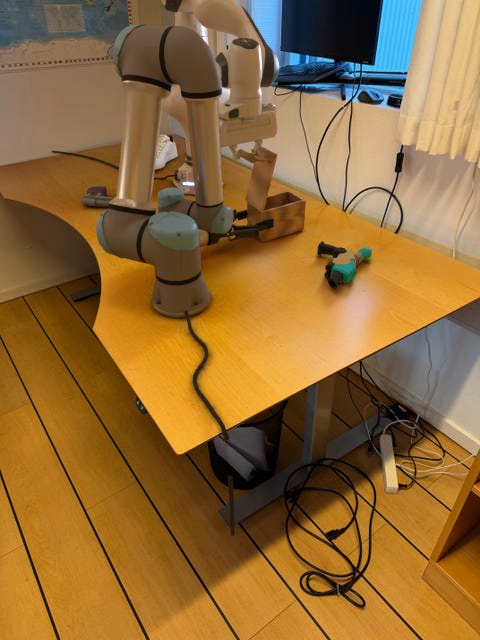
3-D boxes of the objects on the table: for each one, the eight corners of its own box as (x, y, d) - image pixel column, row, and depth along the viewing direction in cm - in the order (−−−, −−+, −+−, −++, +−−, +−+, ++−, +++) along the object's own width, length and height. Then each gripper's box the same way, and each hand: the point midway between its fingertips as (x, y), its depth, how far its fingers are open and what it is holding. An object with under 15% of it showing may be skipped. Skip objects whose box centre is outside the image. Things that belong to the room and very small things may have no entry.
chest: (287, 218, 166) (288, 190, 160) (304, 229, 159) (305, 200, 153) (247, 230, 160) (246, 201, 154) (262, 242, 153) (262, 212, 147)
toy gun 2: (295, 270, 129) (349, 283, 123) (327, 233, 148) (374, 243, 142) (294, 284, 132) (346, 297, 126) (325, 246, 150) (372, 256, 145)
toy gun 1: (138, 196, 186) (123, 211, 174) (94, 193, 189) (76, 208, 177) (137, 186, 184) (121, 201, 172) (92, 183, 187) (74, 198, 175)
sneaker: (133, 173, 208) (129, 144, 201) (161, 153, 230) (158, 127, 223) (155, 175, 205) (151, 146, 198) (180, 155, 227) (178, 129, 220)
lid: (260, 145, 145) (237, 142, 141) (277, 154, 139) (254, 151, 134) (247, 200, 154) (225, 198, 149) (263, 210, 147) (241, 209, 142)
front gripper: (187, 231, 155) (245, 216, 164) (222, 259, 139) (283, 240, 149) (185, 210, 150) (244, 195, 160) (221, 236, 135) (284, 218, 144)
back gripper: (269, 100, 138) (268, 148, 146) (208, 109, 129) (210, 160, 137) (282, 104, 134) (280, 153, 142) (220, 114, 125) (221, 166, 133)
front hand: (263, 217), depth 154 cm, fingers closed on chest, 10 cm apart
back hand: (245, 157), depth 140 cm, fingers open, 5 cm apart
